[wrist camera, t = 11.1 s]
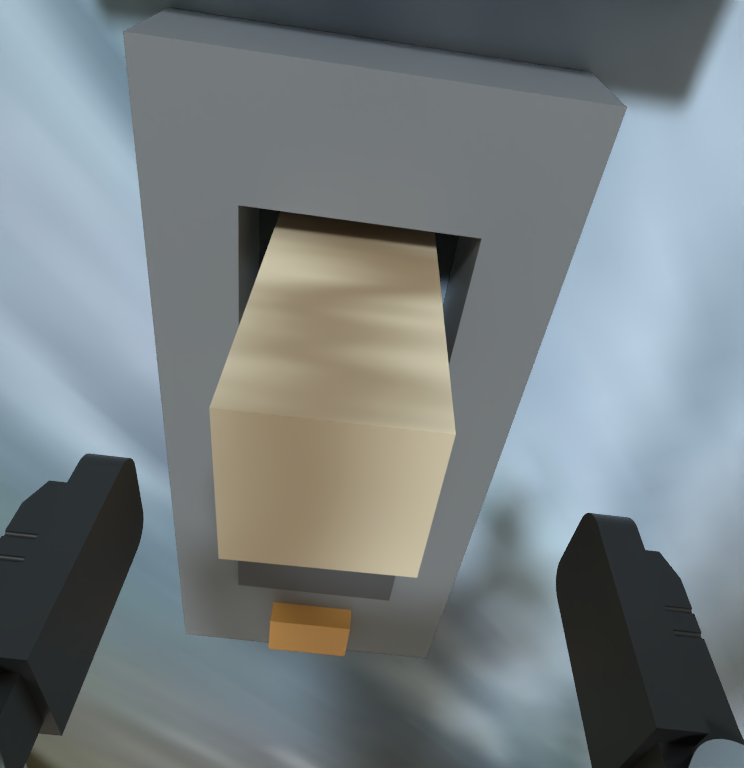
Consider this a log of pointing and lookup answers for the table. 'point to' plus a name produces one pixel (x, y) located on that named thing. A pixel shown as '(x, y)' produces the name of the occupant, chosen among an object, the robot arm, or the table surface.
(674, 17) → the table surface
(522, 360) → the power strip
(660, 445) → the table surface
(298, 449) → the plug peg
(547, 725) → the table surface
